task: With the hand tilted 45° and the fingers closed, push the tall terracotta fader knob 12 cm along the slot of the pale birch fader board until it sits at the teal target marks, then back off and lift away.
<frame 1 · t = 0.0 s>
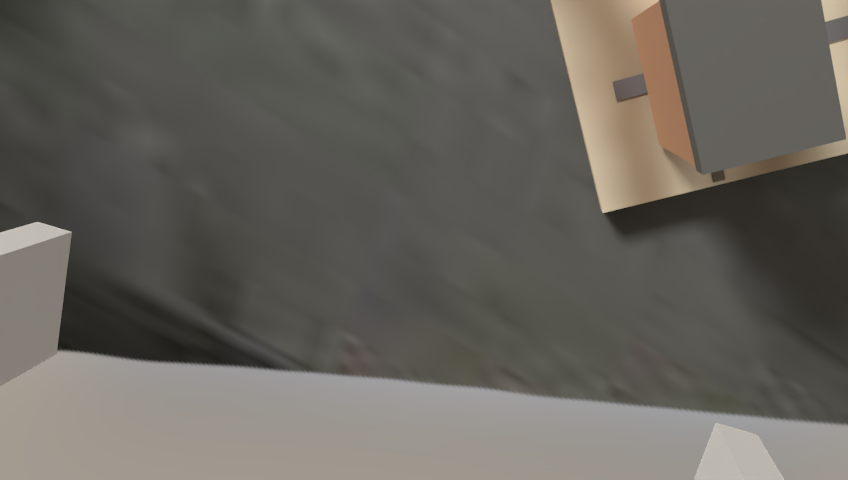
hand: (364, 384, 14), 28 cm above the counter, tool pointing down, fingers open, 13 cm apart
fader knob: (721, 67, 31), point 8 cm above the counter, slide at 0.0 cm
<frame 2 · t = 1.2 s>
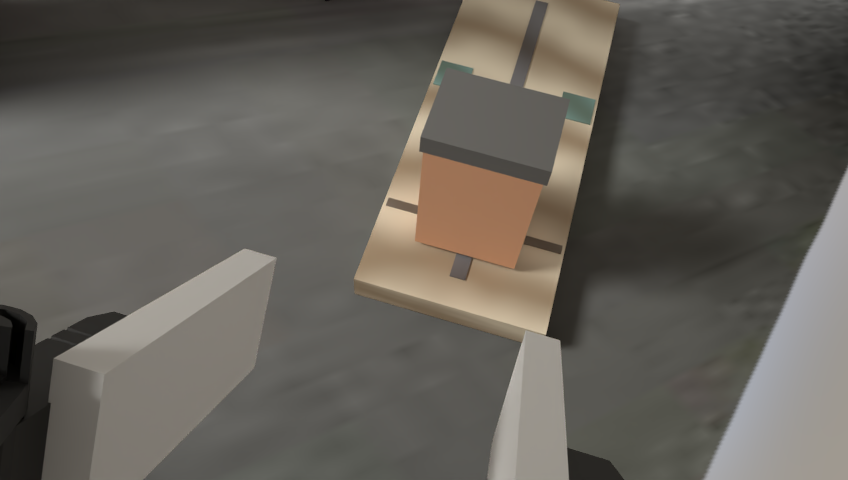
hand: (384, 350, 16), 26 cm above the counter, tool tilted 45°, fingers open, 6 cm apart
fader board: (500, 140, 53), on the counter
fader knob: (484, 175, 42), point 8 cm above the counter, slide at 0.0 cm
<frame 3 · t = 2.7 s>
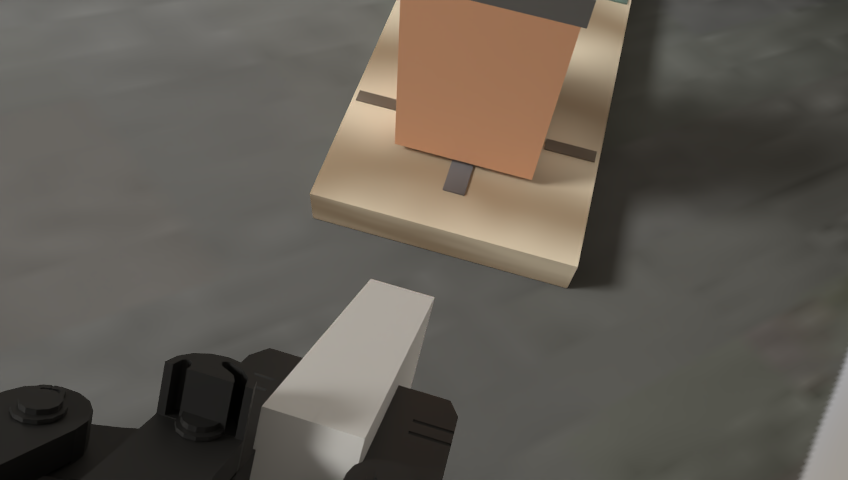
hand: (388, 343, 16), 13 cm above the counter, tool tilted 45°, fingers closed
fader board: (509, 29, 41), on the counter
fader knob: (490, 39, 30), point 8 cm above the counter, slide at 0.0 cm
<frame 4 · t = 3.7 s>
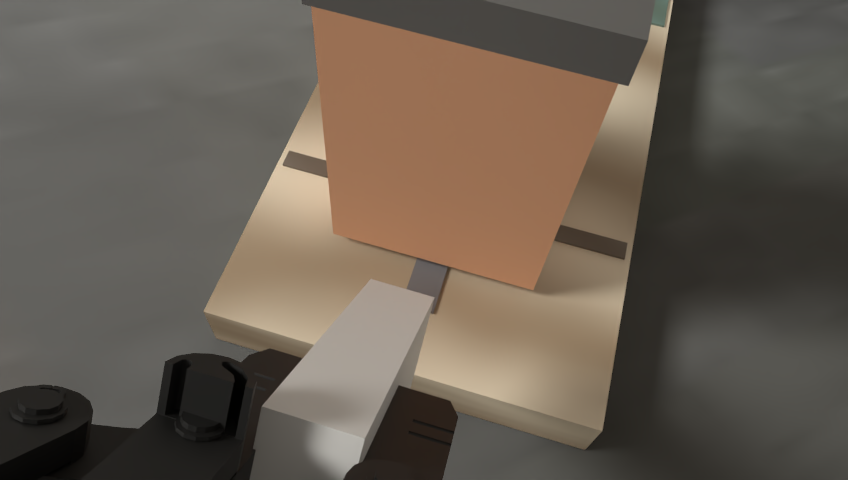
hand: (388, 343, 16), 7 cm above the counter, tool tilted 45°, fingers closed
fader board: (503, 59, 30), on the counter
fader knob: (470, 89, 19), point 7 cm above the counter, slide at 0.0 cm
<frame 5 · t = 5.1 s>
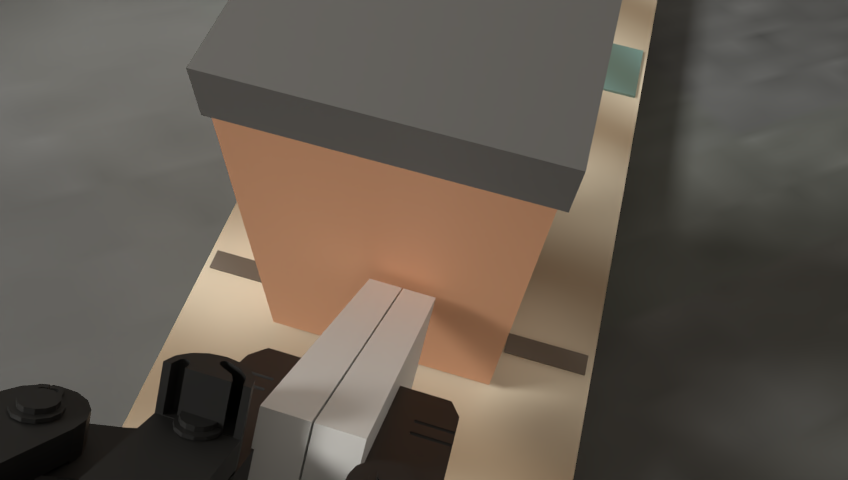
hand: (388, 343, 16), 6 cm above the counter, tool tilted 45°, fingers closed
fader board: (463, 129, 28), on the counter
fader knob: (411, 180, 17), point 8 cm above the counter, slide at 1.0 cm, touching gripper
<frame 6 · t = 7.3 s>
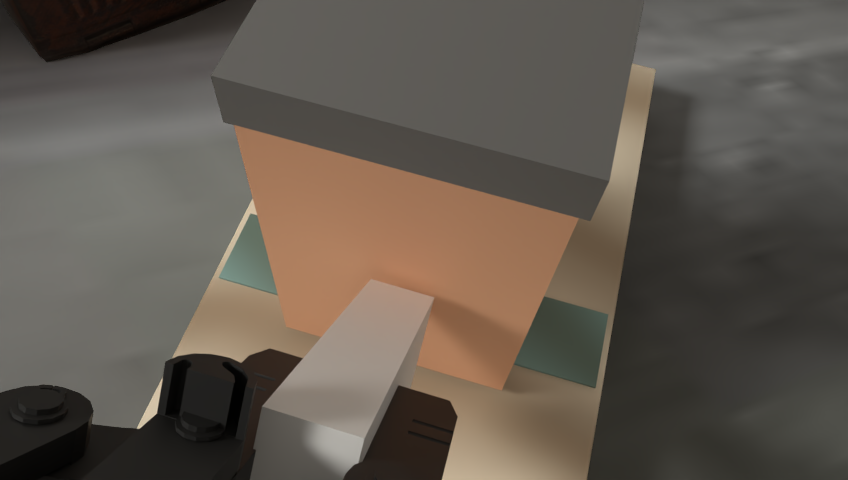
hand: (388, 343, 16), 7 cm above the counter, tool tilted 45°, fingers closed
fader board: (383, 409, 22), on the counter
fader knob: (427, 186, 17), point 8 cm above the counter, slide at 12.3 cm
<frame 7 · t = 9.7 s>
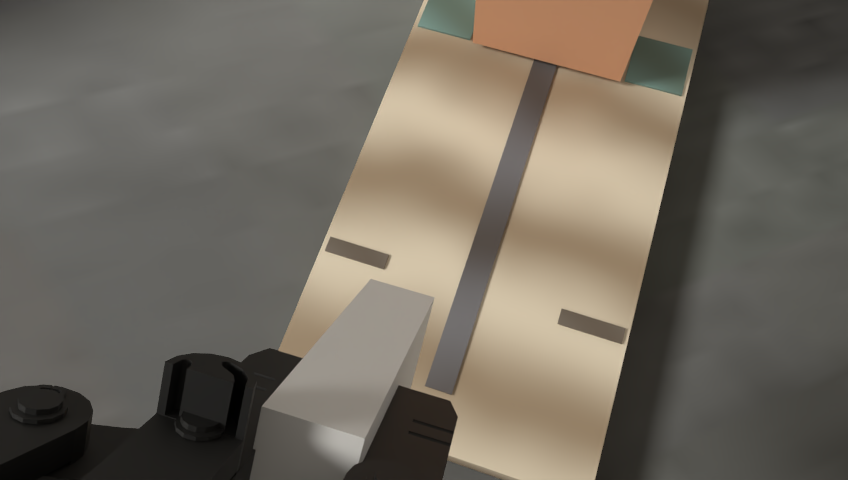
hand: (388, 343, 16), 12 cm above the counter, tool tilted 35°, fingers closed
fader board: (529, 119, 32), on the counter
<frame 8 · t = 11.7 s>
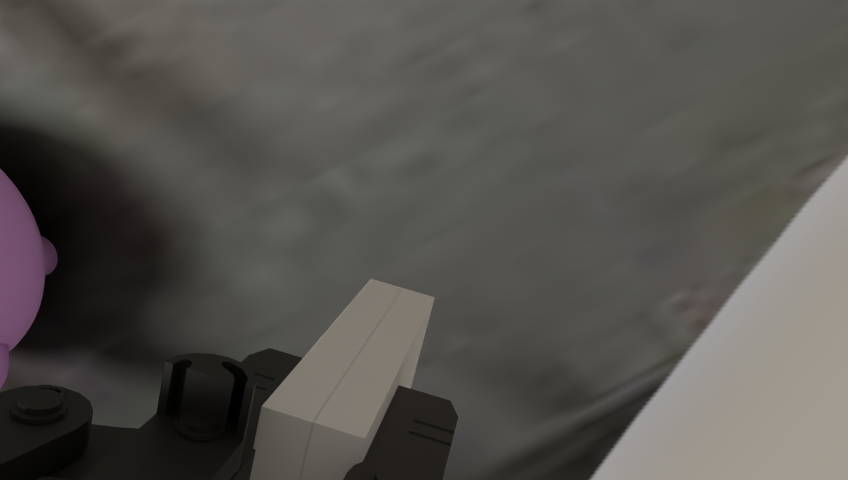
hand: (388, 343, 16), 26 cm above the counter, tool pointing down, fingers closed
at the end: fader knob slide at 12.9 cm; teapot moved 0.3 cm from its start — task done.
